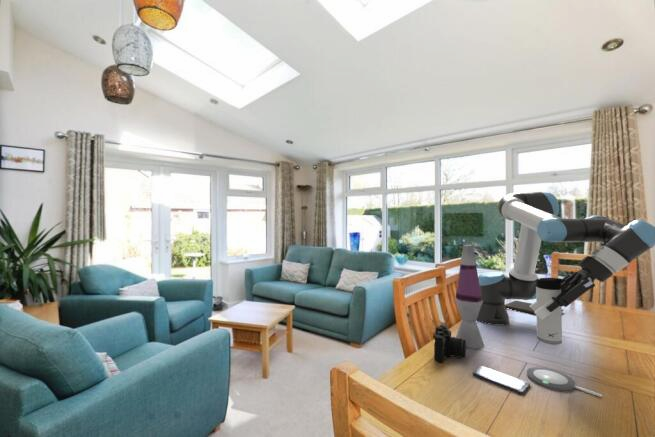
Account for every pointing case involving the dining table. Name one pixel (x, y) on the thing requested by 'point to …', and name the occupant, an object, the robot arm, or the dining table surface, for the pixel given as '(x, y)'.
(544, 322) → the travel mug
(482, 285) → the robot arm
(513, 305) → the hardcover book
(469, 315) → the lamp
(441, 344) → the camera
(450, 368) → the dining table surface
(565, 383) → the charging pad
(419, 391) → the dining table surface
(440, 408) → the dining table surface
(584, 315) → the dining table surface
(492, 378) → the phone
